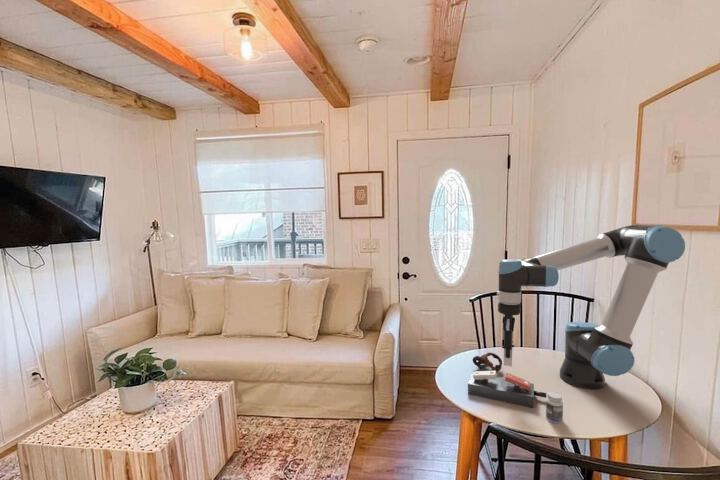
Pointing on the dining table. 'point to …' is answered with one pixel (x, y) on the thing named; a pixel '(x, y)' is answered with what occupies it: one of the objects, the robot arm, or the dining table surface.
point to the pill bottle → (554, 407)
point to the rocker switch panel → (503, 391)
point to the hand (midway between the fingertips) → (507, 364)
